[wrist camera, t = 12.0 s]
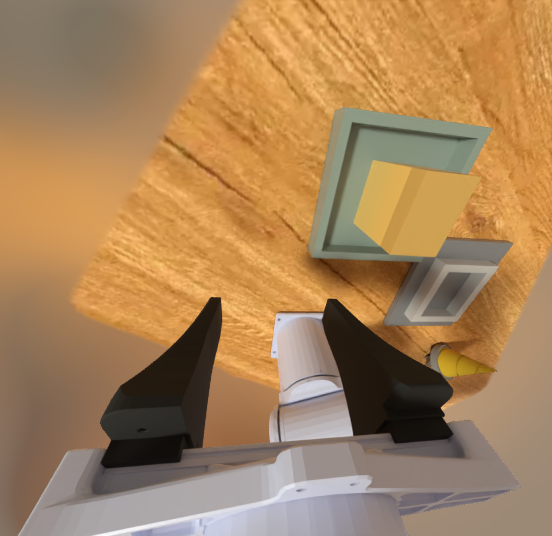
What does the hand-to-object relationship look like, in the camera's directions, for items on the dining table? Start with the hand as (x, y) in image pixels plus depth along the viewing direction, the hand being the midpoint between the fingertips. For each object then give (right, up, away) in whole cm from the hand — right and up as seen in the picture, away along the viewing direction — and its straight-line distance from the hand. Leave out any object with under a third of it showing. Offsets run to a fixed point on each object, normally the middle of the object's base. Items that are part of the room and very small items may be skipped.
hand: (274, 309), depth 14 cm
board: (+22, 0, +15) cm, 27 cm away
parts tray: (+11, +10, +7) cm, 16 cm away
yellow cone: (+28, -11, +22) cm, 38 cm away
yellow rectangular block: (+11, +10, +7) cm, 16 cm away
